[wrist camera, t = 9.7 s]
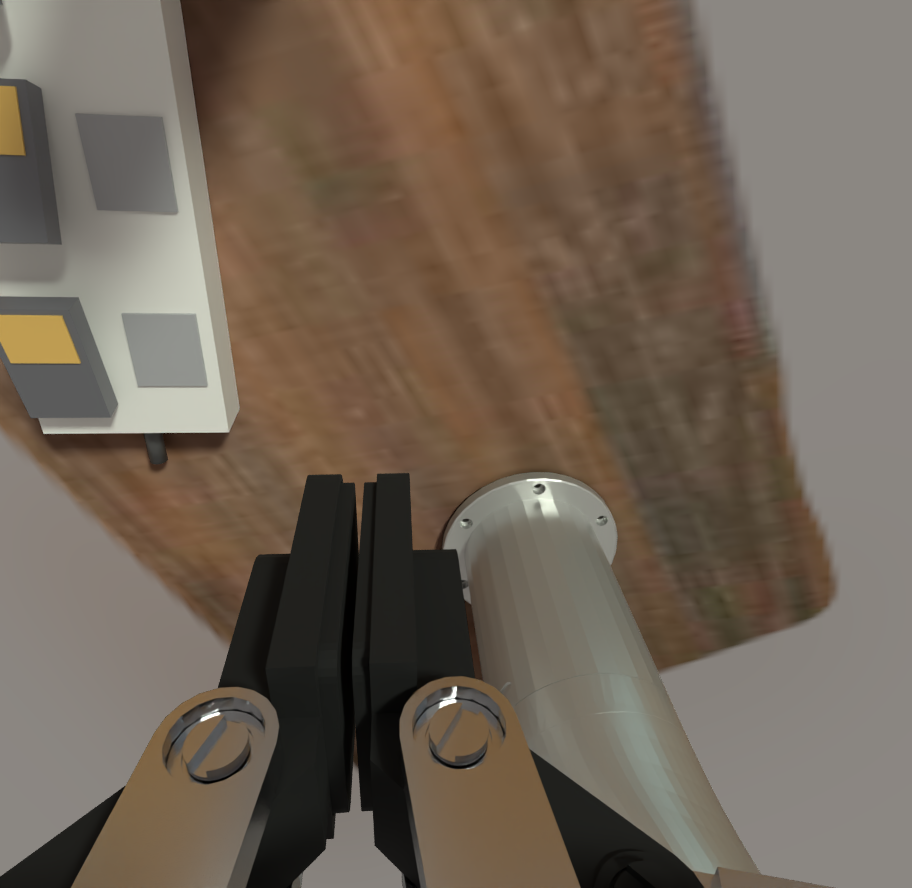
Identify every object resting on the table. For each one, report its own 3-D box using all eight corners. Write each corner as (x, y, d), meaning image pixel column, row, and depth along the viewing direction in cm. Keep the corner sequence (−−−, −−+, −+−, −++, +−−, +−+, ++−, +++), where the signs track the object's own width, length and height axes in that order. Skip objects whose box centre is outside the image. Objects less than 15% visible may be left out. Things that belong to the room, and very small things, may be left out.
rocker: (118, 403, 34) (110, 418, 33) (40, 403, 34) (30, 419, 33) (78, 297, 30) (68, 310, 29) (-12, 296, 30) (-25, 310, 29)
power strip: (245, 450, 40) (235, 478, 37) (80, 452, 39) (56, 480, 36) (146, -232, 25) (115, -272, 22) (-132, -258, 24) (-201, -302, 21)
